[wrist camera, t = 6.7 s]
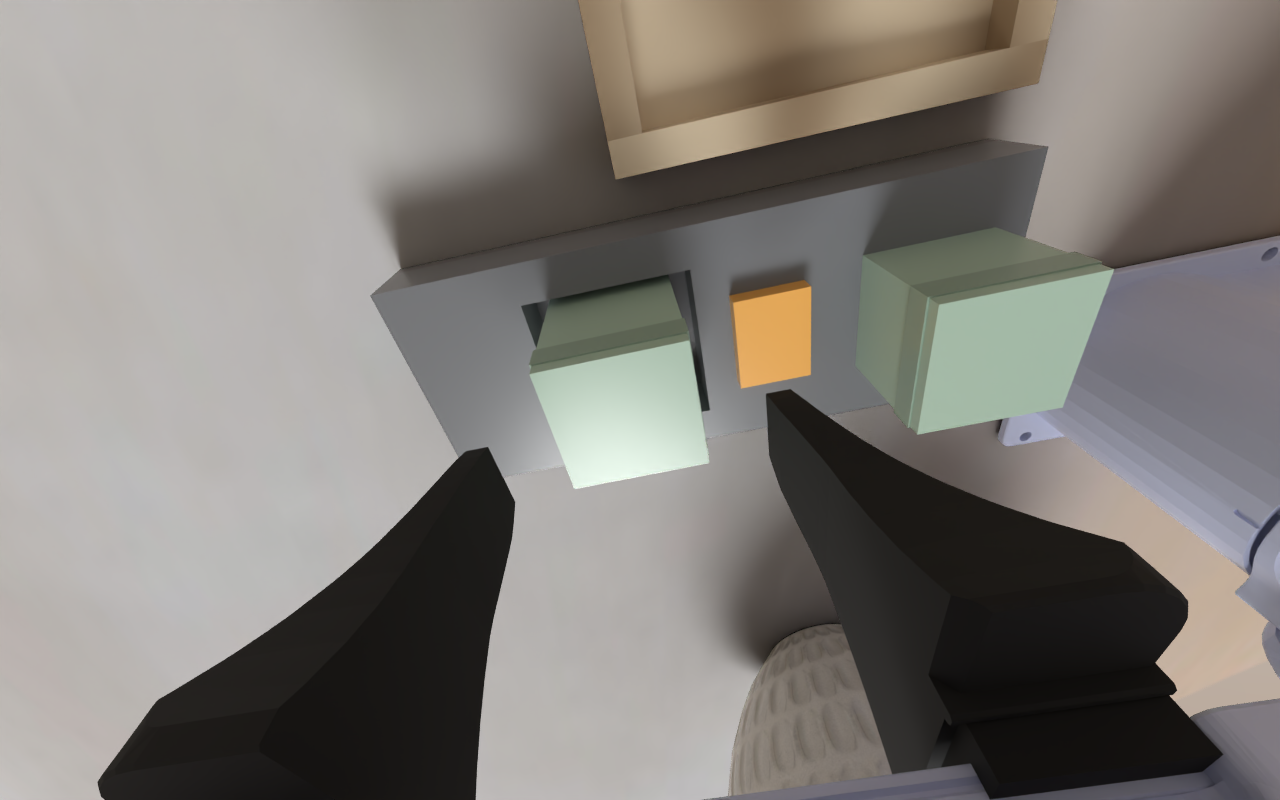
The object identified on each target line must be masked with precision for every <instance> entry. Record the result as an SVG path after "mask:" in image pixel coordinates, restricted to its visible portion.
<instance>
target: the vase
mask: <svg viewBox="0 0 1280 800" xmlns="http://www.w3.org/2000/svg"><path fill="white" fill-rule="evenodd" d="M890 774H892V772H891V769H890V766H889V763H888V760H887V757H886V754H885V751H884V747H883V744H882V741H881V738H880V735H879V732H878V729H877V726H876V723H875V720H874V717H873V714H872V711H871V708H870V705H869V702H868V699H867V696H866V693H865V690H864V687H863V684H862V681H861V678H860V676H859V673H858V670H857V667H856V664H855V661H854V658H853V655H852V653H851V650H850V647H849V644H848V642H847V639H846V636H845V633H844V630H843V628H842V625H841V624H826V625H819V626H814V627H810V628H807V629H803V630H800V631H798V632H796V633H793V634H792V635H790V636H788V637H786V638H785V639H783V640H782V641H780V642H779V643H778V644H777V645H776V646H775V647H774V648H773V650H772V651H771V653H770V654H769V656H768V658H767V659H766V661H765V662H764V664H763V666H762V668H761V669H760V671H759V673H758V675H757V676H756V678H755V680H754V682H753V684H752V686H751V689H750V691H749V694H748V697H747V699H746V702H745V705H744V707H743V710H742V714H741V718H740V722H739V726H738V730H737V734H736V738H735V742H734V746H733V750H732V759H731V770H730V781H729V793H728V796H734V795H742V794H749V793H756V792H764V791H771V790H779V789H786V788H793V787H801V786H808V785H816V784H823V783H830V782H838V781H845V780H853V779H860V778H867V777H875V776H882V775H890Z"/></svg>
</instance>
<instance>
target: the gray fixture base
mask: <svg viewBox="0 0 1280 800" xmlns="http://www.w3.org/2000/svg"><path fill="white" fill-rule="evenodd" d="M1047 150H1048V147H1047V146H1040V145H1032V144H1024V143H1016V142H1008V141H1001V140H993V139H985V140H980V141H976V142H971V143H967V144H962V145H958V146H953V147H949V148H944V149H940V150H935V151H931V152H926V153H922V154H917V155H913V156H908V157H904V158H899V159H895V160H890V161H886V162H881V163H877V164H872V165H868V166H863V167H859V168H855V169H850V170H846V171H841V172H837V173H832V174H828V175H823V176H819V177H814V178H810V179H805V180H801V181H796V182H792V183H787V184H783V185H778V186H774V187H769V188H765V189H760V190H756V191H751V192H747V193H742V194H738V195H733V196H729V197H724V198H720V199H715V200H711V201H706V202H702V203H697V204H693V205H688V206H684V207H679V208H675V209H670V210H666V211H661V212H657V213H652V214H648V215H643V216H639V217H634V218H630V219H625V220H621V221H616V222H612V223H607V224H603V225H598V226H594V227H589V228H585V229H580V230H576V231H571V232H567V233H562V234H558V235H553V236H549V237H544V238H540V239H535V240H531V241H526V242H522V243H517V244H513V245H508V246H504V247H499V248H495V249H490V250H486V251H481V252H477V253H472V254H468V255H463V256H459V257H454V258H450V259H445V260H441V261H436V262H432V263H427V264H423V265H418V266H414V267H409V268H405V269H400V270H399V271H398V272H397V273H396V274H395V275H393V276H392V277H391V278H390V279H389V280H388V281H387V282H385V283H384V284H383V285H382V286H381V287H380V288H378V289H377V290H376V291H375V292H374V293H373V294H372V295H370V296H371V298H372V300H373V302H374V303H375V305H376V307H377V309H378V311H379V313H380V314H381V316H382V318H383V320H384V322H385V324H386V325H387V327H388V329H389V331H390V333H391V334H392V336H393V338H394V340H395V342H396V344H397V345H398V347H399V349H400V351H401V353H402V355H403V356H404V358H405V360H406V362H407V364H408V366H409V367H410V369H411V371H412V373H413V375H414V377H415V378H416V380H417V382H418V384H419V386H420V388H421V389H422V391H423V393H424V395H425V397H426V398H427V400H428V402H429V404H430V406H431V408H432V409H433V411H434V413H435V415H436V417H437V419H438V420H439V422H440V424H441V426H442V428H443V430H444V431H445V433H446V435H447V437H448V439H449V441H450V442H451V444H452V446H453V448H454V450H455V452H456V453H457V455H458V457H460V456H461V455H462V454H463V453H464V452H465V451H469V450H474V449H479V448H485V447H488V448H489V450H490V452H491V454H492V456H493V458H494V460H495V462H496V464H497V466H498V468H499V470H500V472H501V474H502V476H503V478H504V477H509V476H515V475H520V474H525V473H530V472H536V471H541V470H546V469H551V468H556V467H562V466H565V464H564V461H563V459H562V456H561V454H560V451H559V449H558V446H557V444H556V441H555V438H554V436H553V433H552V431H551V428H550V426H549V423H548V421H547V418H546V416H545V413H544V411H543V408H542V405H541V403H540V400H539V398H538V395H537V393H536V390H535V388H534V385H533V383H532V380H531V378H530V375H529V373H530V367H529V363H530V359H531V356H532V352H533V350H536V348H537V344H538V340H539V337H540V333H541V329H542V326H543V322H544V319H545V315H546V311H547V308H548V304H549V300H551V299H555V298H560V297H565V296H569V295H574V294H579V293H583V292H588V291H593V290H597V289H602V288H607V287H611V286H616V285H621V284H625V283H630V282H635V281H640V280H644V279H649V278H654V277H658V276H663V275H668V277H669V280H670V283H671V286H672V289H673V292H674V295H675V298H676V301H677V304H678V307H679V310H680V313H681V316H682V318H685V321H686V324H687V327H688V330H689V336H690V342H691V348H692V354H693V360H694V366H695V373H696V379H697V385H698V391H699V397H700V403H701V410H702V416H703V422H704V428H705V434H706V439H708V438H713V437H718V436H724V435H729V434H734V433H739V432H744V431H750V430H755V429H760V428H765V427H768V425H767V408H766V394H767V393H772V392H777V391H782V390H787V389H791V390H792V391H794V392H795V393H797V394H798V395H799V396H801V397H802V398H803V399H805V400H806V401H807V402H809V403H810V404H811V405H813V406H814V407H815V408H817V409H818V410H820V411H821V412H822V413H824V414H825V415H826V416H828V415H833V414H838V413H844V412H849V411H854V410H859V409H864V408H870V407H875V406H880V405H885V404H890V405H891V406H892V407H893V408H894V413H895V414H896V415H897V416H898V418H899V419H900V420H901V421H902V422H903V423H904V424H905V425H906V427H907V428H910V427H911V428H912V429H913V431H914V432H915V433H916V434H917V435H918V434H924V433H929V432H934V431H940V430H945V429H950V428H956V427H961V426H967V425H972V424H977V423H983V422H988V421H993V420H999V419H1004V418H1009V417H1015V416H1020V415H1025V414H1031V413H1036V412H1041V411H1047V410H1052V409H1057V408H1063V405H1064V403H1065V400H1066V397H1067V395H1068V392H1069V389H1070V387H1071V384H1072V381H1073V379H1074V376H1075V373H1076V371H1077V368H1078V365H1079V362H1080V360H1081V357H1082V354H1083V352H1084V349H1085V346H1086V344H1087V341H1088V338H1089V336H1090V333H1091V330H1092V328H1093V325H1094V322H1095V320H1096V317H1097V314H1098V312H1099V309H1100V306H1101V304H1102V301H1103V298H1104V296H1105V293H1106V290H1107V288H1108V285H1109V282H1110V280H1111V277H1112V274H1113V272H1114V269H1112V268H1110V267H1107V266H1104V265H1101V263H1102V261H1100V260H1097V259H1094V258H1091V257H1088V256H1085V255H1082V254H1079V253H1077V252H1071V253H1067V252H1064V251H1062V250H1059V249H1056V248H1053V247H1050V246H1047V245H1045V244H1042V243H1039V242H1036V241H1033V240H1030V239H1028V238H1025V236H1026V232H1027V228H1028V224H1029V221H1030V217H1031V213H1032V209H1033V205H1034V201H1035V197H1036V193H1037V189H1038V185H1039V181H1040V178H1041V174H1042V170H1043V166H1044V162H1045V158H1046V154H1047Z"/></svg>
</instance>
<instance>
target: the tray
mask: <svg viewBox="0 0 1280 800" xmlns="http://www.w3.org/2000/svg"><path fill="white" fill-rule="evenodd" d="M578 3H579V8H580V12H581V17H582V22H583V27H584V31H585V36H586V41H587V46H588V51H589V55H590V60H591V65H592V70H593V75H594V79H595V84H596V89H597V94H598V98H599V103H600V108H601V113H602V118H603V122H604V127H605V132H606V137H607V142H608V146H609V151H610V156H611V161H612V165H613V170H614V175H615V180H616V179H621V178H625V177H629V176H634V175H638V174H642V173H647V172H651V171H656V170H660V169H664V168H669V167H673V166H678V165H682V164H686V163H691V162H695V161H700V160H704V159H708V158H713V157H717V156H721V155H726V154H730V153H735V152H739V151H743V150H748V149H752V148H757V147H761V146H765V145H770V144H774V143H779V142H783V141H787V140H792V139H796V138H800V137H805V136H809V135H814V134H818V133H822V132H827V131H831V130H836V129H840V128H844V127H849V126H853V125H858V124H862V123H866V122H871V121H875V120H879V119H884V118H888V117H893V116H897V115H901V114H906V113H910V112H915V111H919V110H923V109H928V108H932V107H937V106H941V105H945V104H950V103H954V102H958V101H963V100H967V99H972V98H976V97H980V96H985V95H989V94H994V93H998V92H1002V91H1007V90H1011V89H1016V88H1020V87H1024V86H1029V85H1033V84H1037V83H1039V78H1040V74H1041V70H1042V65H1043V61H1044V57H1045V52H1046V48H1047V43H1048V39H1049V35H1050V30H1051V26H1052V22H1053V17H1054V13H1055V9H1056V4H1057V0H578Z"/></svg>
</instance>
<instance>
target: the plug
mask: <svg viewBox="0 0 1280 800" xmlns="http://www.w3.org/2000/svg"><path fill="white" fill-rule="evenodd" d="M529 367H530V373H529V375H530V378H531V380H532V383H533V385H534V388H535V390H536V393H537V395H538V398H539V400H540V403H541V405H542V408H543V411H544V413H545V416H546V418H547V421H548V423H549V426H550V428H551V431H552V433H553V436H554V438H555V441H556V444H557V446H558V449H559V451H560V454H561V456H562V459H563V461H564V464H565V466H566V469H567V471H568V474H569V477H570V479H571V482H572V484H573V487H574V489H578V488H583V487H588V486H593V485H599V484H604V483H609V482H614V481H619V480H624V479H630V478H635V477H640V476H645V475H650V474H655V473H661V472H666V471H671V470H676V469H681V468H686V467H692V466H697V465H702V464H707V463H709V457H708V455H709V453H708V447H707V440H706V434H705V428H704V422H703V416H702V410H701V403H700V397H699V391H698V385H697V379H696V373H695V366H694V360H693V354H692V348H691V342H690V336H689V330H688V327H687V324H686V321H685V318H682V316H681V313H680V310H679V307H678V304H677V301H676V298H675V295H674V292H673V289H672V286H671V283H670V280H669V277H668V275H663V276H658V277H654V278H649V279H644V280H640V281H635V282H630V283H625V284H621V285H616V286H611V287H607V288H602V289H597V290H593V291H588V292H583V293H579V294H574V295H569V296H565V297H560V298H555V299H551V300H549V304H548V308H547V311H546V315H545V319H544V322H543V326H542V329H541V333H540V337H539V340H538V344H537V348H536V350H533V352H532V356H531V359H530V363H529Z"/></svg>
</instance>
